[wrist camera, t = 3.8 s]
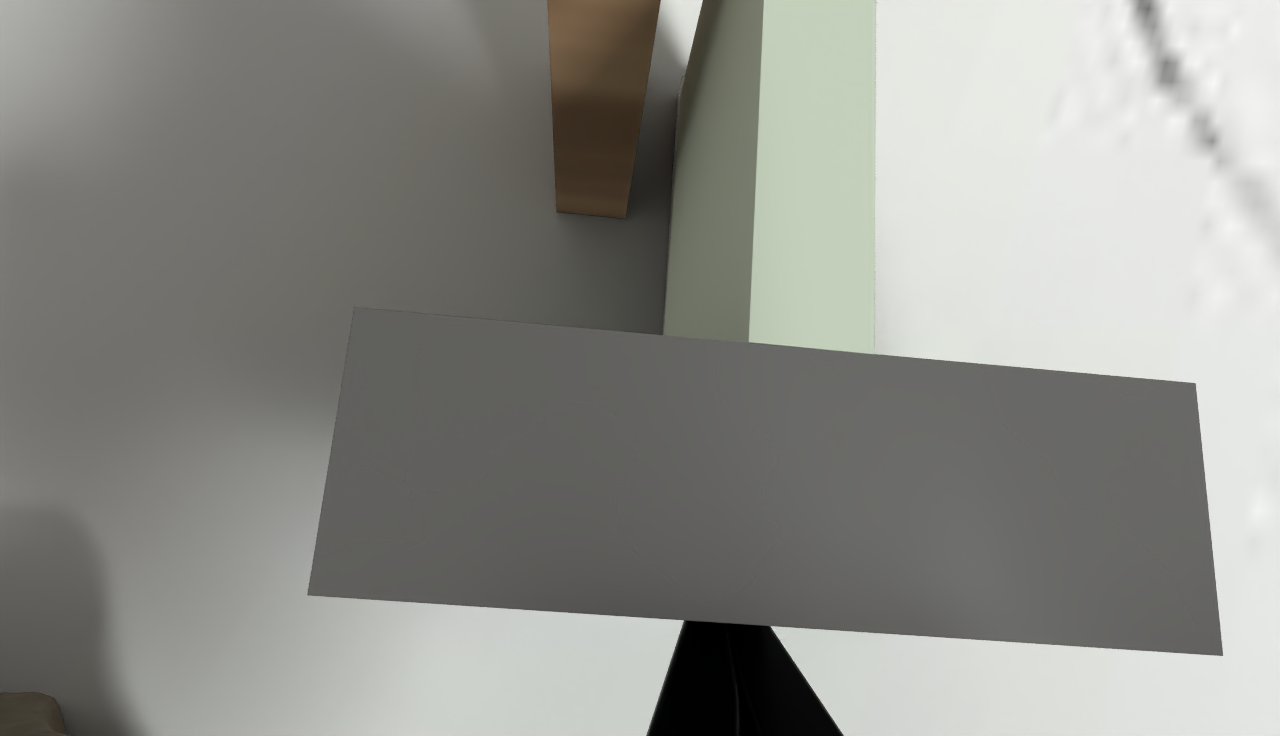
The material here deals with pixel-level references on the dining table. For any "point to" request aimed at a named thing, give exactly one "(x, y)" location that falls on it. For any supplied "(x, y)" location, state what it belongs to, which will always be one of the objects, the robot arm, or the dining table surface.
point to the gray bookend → (764, 486)
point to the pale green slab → (777, 177)
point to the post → (598, 98)
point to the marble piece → (30, 715)
